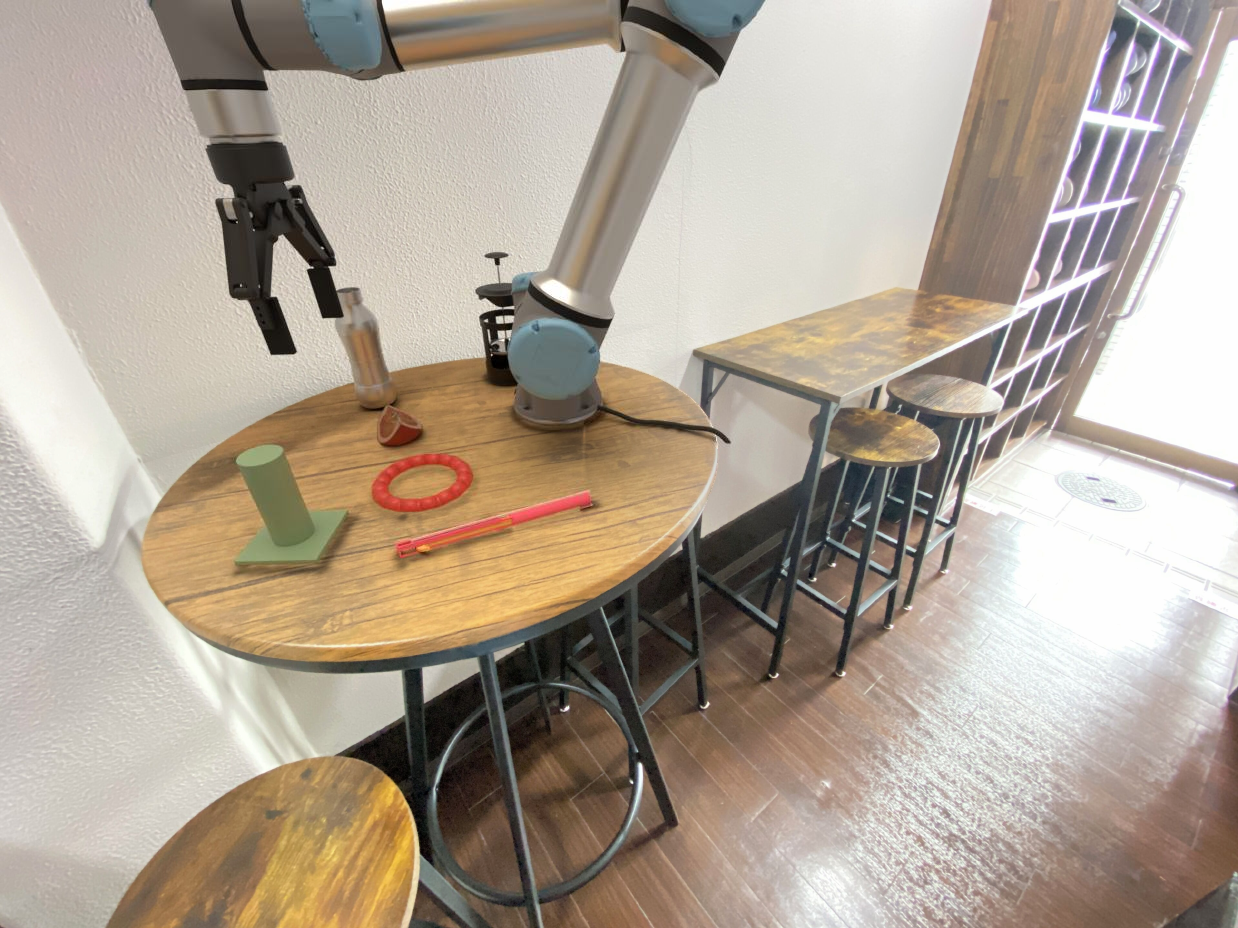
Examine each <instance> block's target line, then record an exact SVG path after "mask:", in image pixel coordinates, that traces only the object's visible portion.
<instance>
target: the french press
mask: <svg viewBox="0 0 1238 928" xmlns="http://www.w3.org/2000/svg"><path fill="white" fill-rule="evenodd" d="M509 255H510V254H509V253H507V252H504V251H503V252H502V251H492V252H488V253H486V254H484V255H483V257H484V258H485V259H493V260H494V261H493V262H494V266H496V271H497V281H498V282H494V283H488V284H484V285H480V286H478V287H477V288H475V289H474V292H475V295H477V297H478V300H479V301H482V300H485V299H486V300H487V301H489V302H490V303H491V304H493V305H494V306H496V307H498V309H497V308H496V309H492V310H487V311H485V312H483V313H481V314H480V315H479V316H478V321H479V326H480V327H481V334H482V340H483V347H484V354H485V368H486V376H485V377H486V380H487V382H488V383H490V384H492V385H494V386H501V387H513V386H517V385H518V382H517V381H516V379H515V378H514V376H513V374H512V372H511V370H510V366H509V361H508V357H507V353H508V352H507V347H508V343H509V340H510V337H511V336H510V337H508V333H507V331H512V326H513V321H512V322H506V317H514V308H512V307H514V301H513V296H512V294H511V291H512V282H501V273H500V272H501V271H500V266H501V259H504V258H508V257H509ZM510 307H511V308H510ZM499 317H502V322H503V323H498V322H497V318H499ZM499 332H504V337H500V338H499Z"/></svg>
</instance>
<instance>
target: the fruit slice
mask: <svg viewBox="0 0 1238 928" xmlns="http://www.w3.org/2000/svg"><path fill="white" fill-rule="evenodd" d="M376 427H377V428H376V436H377V440H378V442H379V443H380V444H382V445H385V446H389V447H397V446H402V445H405V444H408V443H410V442H412V441H413V440H415V439H416V438H417V437H418V436H419V434H420V433H421V432H422V430H423V428H424V426H423V424H422V423H421V422H420V421H419V420H418V419H417V418H416V417H414V416H413V415H412V414H410V413H408V412H405V411H404V410H402V409H400V408H397V407H395V406H393V405H391V404H390V405H388V404H387V405H386V406H385V407H383V410H382V411H381V412H380V414H379V416H378V420H377V426H376Z"/></svg>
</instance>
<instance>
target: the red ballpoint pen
mask: <svg viewBox="0 0 1238 928" xmlns="http://www.w3.org/2000/svg"><path fill="white" fill-rule="evenodd" d="M590 493H591V489H588V490H583V491H581V492H577V493H573V494H570V495H566V496H562V497H559V498H555V499H551V500H548V501H545V502H541V503H537V504H533V505H530V506H526V507H523V508H518V509H516V510H515V509H514V510H511V511H508V512H504V513H501V514H496V515H492V516H489V517H485V518H482V519H478V520H475V521H471V522H466V523H463V524H460V525H457V526H456V525H455V526H453V527H448V528H445V529H442V530H438V531H435V532H431V533H428V534H424V535H420V536H416V537H413V538H408V539H406V540H403V541H399V542H395V547H396V551H397V553H398V555H399V558H404V557H408V556H411V555H414V554H418V553H422V552H423V553H424V552H428V551H430V550H431V549H435V548H439V547H442V546H446V545H449V544H452V543H455V542H459V541H462V540H466V539H469V538H472V537H477V536H481V535H484V534H487V533H490V532H493V531H499V530H503V529H507V528H509V527H514V526H515V525H518V524H522V523H525V522H529V521H532V520H536V519H539V518H543V517H546V516H550V515H553V514H557V513H560V512H563V511H566V510H570V509H574V508H577V507H579V510H583V509H586V508H589V507H593V503H592V497H591V495H590ZM409 549H412V550H413V551H412V552H408V553H404V554H402V551H406V550H409ZM415 550H416V551H415Z"/></svg>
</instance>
